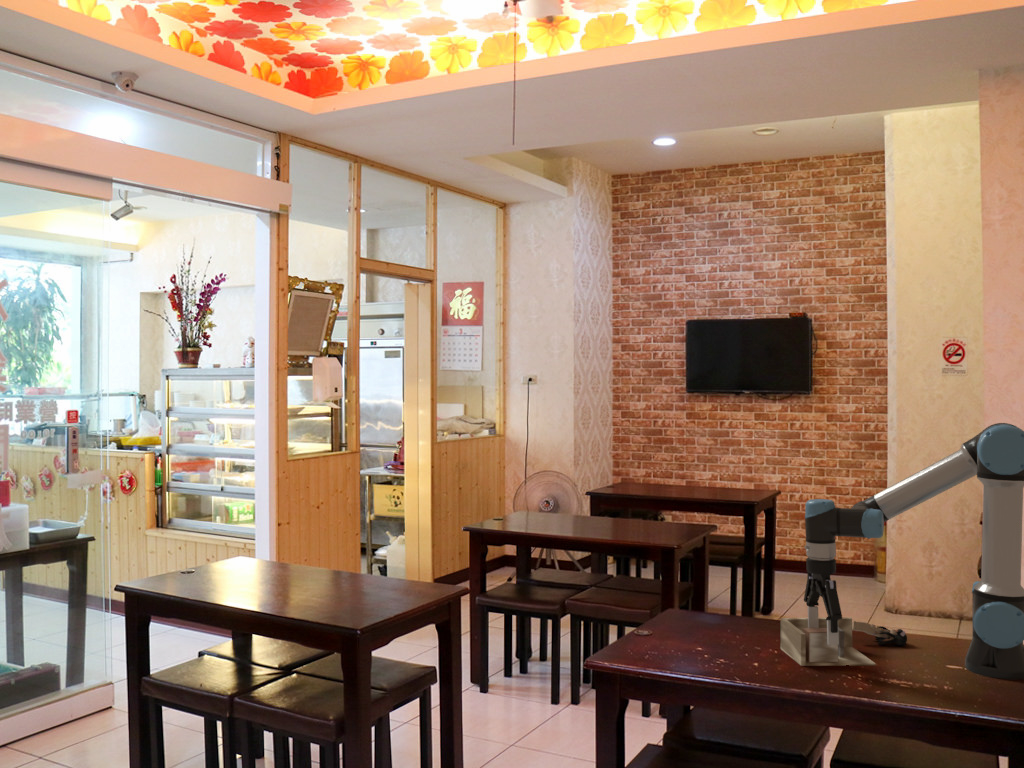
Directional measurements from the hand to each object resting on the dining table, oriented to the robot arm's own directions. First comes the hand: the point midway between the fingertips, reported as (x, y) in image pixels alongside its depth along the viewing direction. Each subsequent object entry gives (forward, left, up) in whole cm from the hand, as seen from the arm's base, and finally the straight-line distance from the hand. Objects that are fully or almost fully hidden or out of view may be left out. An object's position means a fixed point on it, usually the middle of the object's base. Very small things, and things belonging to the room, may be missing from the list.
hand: (823, 637), depth 241 cm
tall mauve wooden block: (0, 0, -6) cm, 6 cm away
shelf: (-3, -5, -7) cm, 9 cm away
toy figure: (-16, -20, -3) cm, 26 cm away
